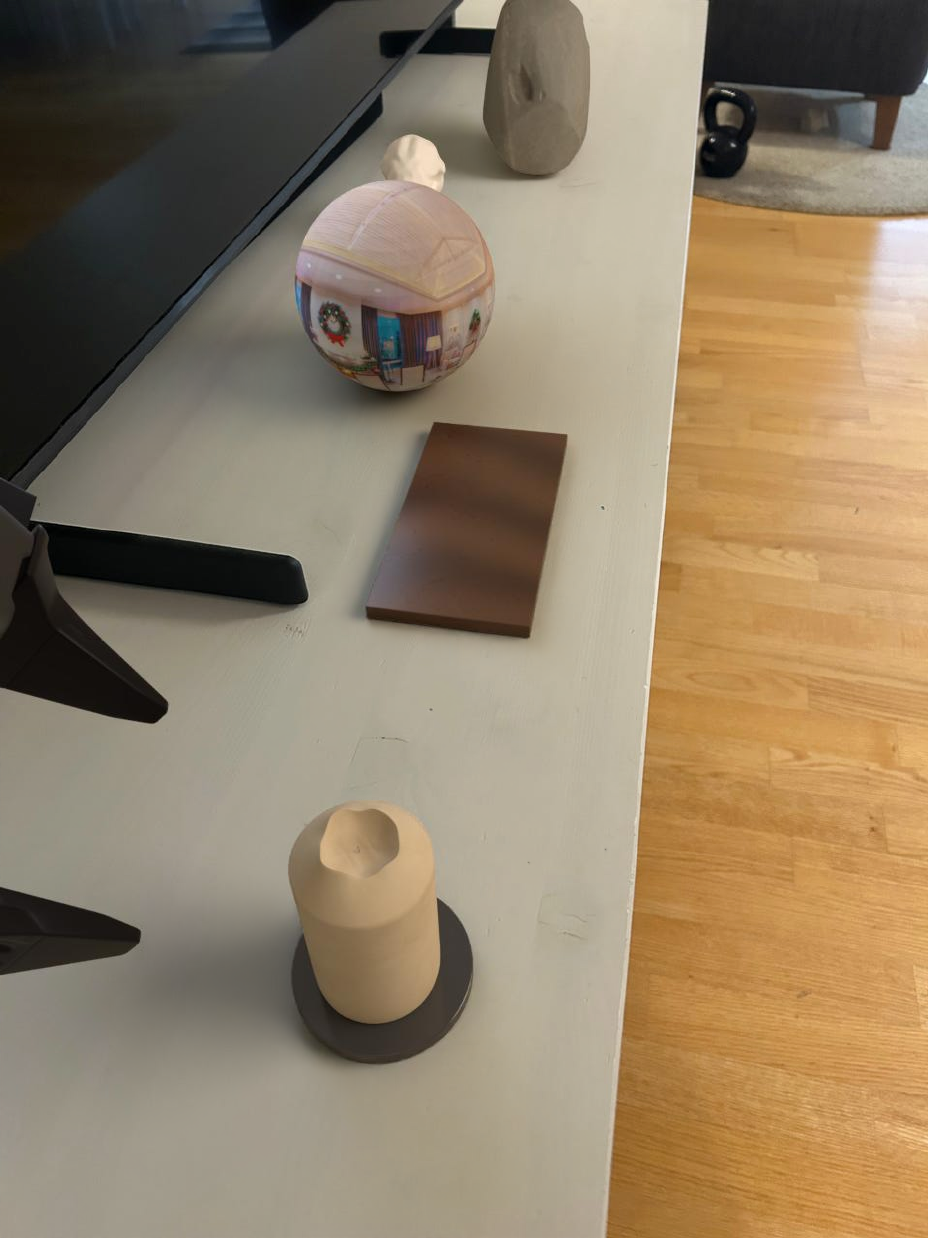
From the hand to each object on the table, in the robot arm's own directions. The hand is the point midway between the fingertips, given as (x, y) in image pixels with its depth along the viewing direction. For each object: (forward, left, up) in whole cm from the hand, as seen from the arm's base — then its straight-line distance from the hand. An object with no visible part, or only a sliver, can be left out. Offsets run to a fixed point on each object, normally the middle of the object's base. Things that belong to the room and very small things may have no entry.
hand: (149, 817), depth 33 cm
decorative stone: (+71, +71, -14) cm, 101 cm away
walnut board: (+28, +20, -14) cm, 37 cm away
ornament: (+33, +39, -14) cm, 53 cm away
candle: (+6, -3, -13) cm, 15 cm away
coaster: (+6, -3, -14) cm, 15 cm away
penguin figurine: (+47, +60, -14) cm, 77 cm away
